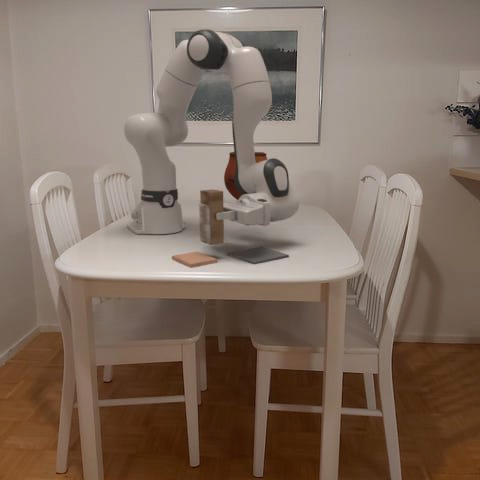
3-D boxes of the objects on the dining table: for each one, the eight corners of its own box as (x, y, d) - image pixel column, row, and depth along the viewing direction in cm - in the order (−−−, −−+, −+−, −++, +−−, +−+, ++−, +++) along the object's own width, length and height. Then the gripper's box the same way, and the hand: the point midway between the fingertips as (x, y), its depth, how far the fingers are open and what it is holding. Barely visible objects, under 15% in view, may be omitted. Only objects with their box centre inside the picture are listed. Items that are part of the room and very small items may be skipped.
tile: (197, 256, 138) (172, 261, 133) (197, 251, 137) (171, 255, 133) (217, 264, 130) (190, 269, 125) (217, 259, 129) (190, 264, 125)
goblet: (256, 222, 182) (257, 154, 176) (214, 217, 192) (213, 152, 186) (280, 214, 198) (281, 151, 192) (239, 210, 208) (239, 150, 202)
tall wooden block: (199, 242, 134) (198, 190, 131) (213, 239, 137) (212, 189, 134) (209, 245, 130) (208, 192, 127) (223, 243, 133) (223, 191, 130)
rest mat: (227, 254, 137) (227, 252, 137) (261, 248, 144) (261, 246, 144) (254, 264, 128) (254, 262, 128) (288, 257, 135) (288, 254, 135)
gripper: (229, 194, 147) (189, 198, 139) (273, 202, 131) (230, 208, 123) (229, 215, 148) (189, 220, 140) (273, 226, 132) (230, 232, 124)
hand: (209, 214), depth 131 cm, fingers closed on tall wooden block, 5 cm apart
